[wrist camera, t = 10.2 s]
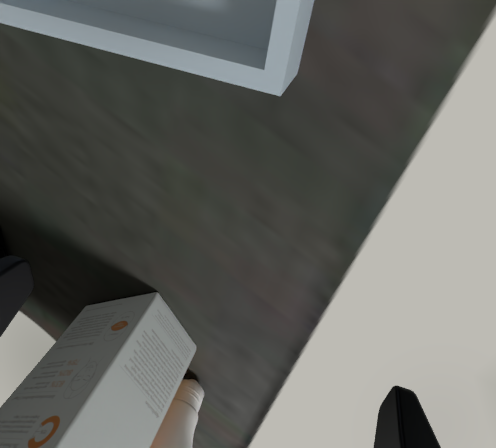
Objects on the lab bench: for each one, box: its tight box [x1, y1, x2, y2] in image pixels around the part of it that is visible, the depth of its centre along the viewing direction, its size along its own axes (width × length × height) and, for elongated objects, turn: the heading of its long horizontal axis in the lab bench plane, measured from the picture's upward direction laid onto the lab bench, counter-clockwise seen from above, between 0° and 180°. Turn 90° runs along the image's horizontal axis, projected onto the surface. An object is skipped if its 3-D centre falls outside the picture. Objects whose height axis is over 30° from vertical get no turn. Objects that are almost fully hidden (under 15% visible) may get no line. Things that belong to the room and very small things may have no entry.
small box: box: [0, 292, 197, 448], centre depth 27 cm, size 8×6×13 cm
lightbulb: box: [150, 379, 204, 448], centre depth 31 cm, size 6×6×11 cm
